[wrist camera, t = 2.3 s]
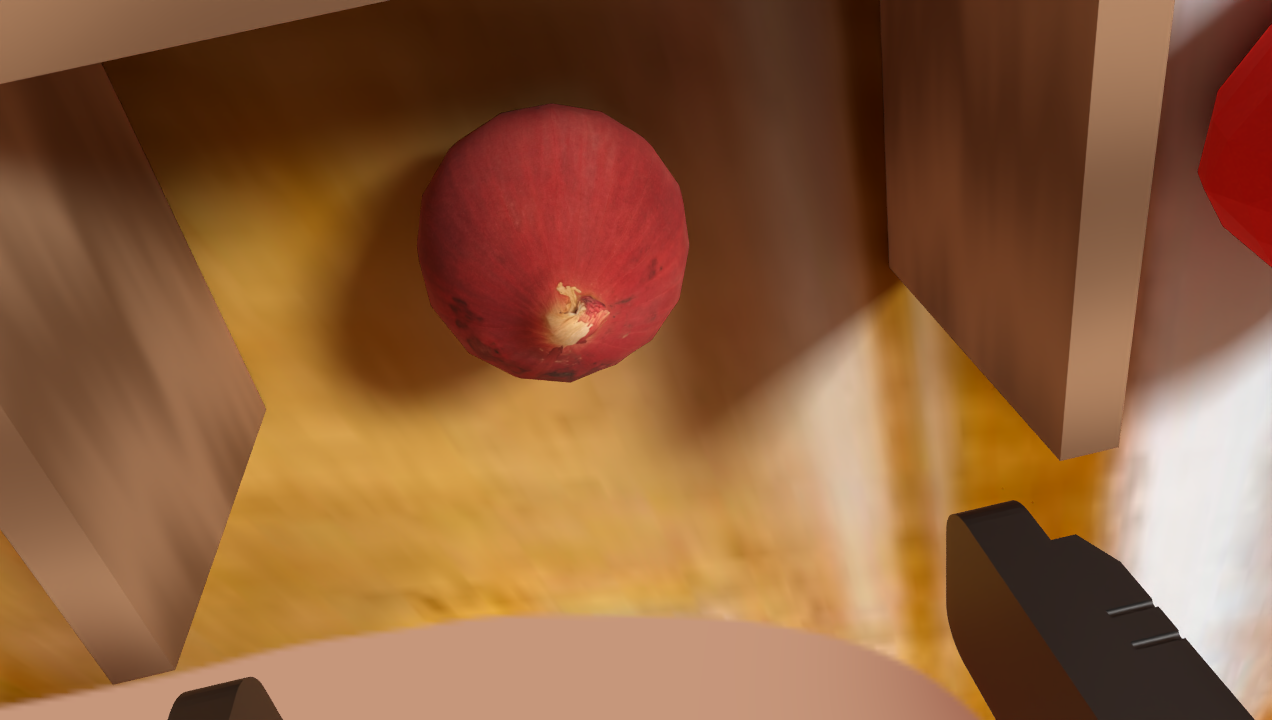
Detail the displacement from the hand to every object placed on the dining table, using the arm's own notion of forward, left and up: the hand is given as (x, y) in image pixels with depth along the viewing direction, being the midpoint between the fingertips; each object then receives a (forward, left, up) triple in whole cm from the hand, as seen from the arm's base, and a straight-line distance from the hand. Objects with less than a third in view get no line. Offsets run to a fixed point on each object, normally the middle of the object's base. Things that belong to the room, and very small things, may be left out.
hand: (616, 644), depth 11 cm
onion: (0, 0, -15) cm, 15 cm away
